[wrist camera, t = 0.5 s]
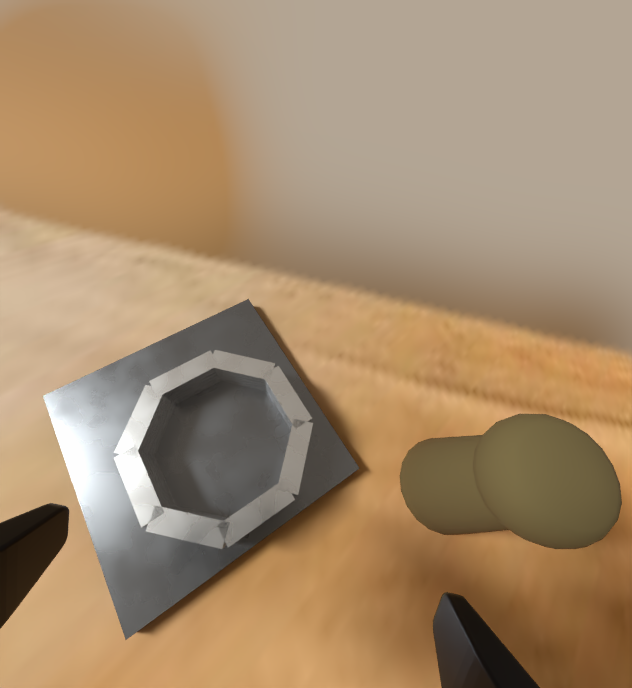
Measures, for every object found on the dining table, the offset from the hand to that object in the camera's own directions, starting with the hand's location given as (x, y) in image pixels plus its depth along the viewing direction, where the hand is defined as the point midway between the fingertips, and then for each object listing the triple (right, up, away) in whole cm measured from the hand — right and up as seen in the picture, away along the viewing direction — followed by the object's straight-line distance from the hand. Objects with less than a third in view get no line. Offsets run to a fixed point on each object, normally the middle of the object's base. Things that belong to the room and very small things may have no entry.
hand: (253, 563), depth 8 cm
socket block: (-6, -1, +14) cm, 16 cm away
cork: (+10, -5, +15) cm, 18 cm away
